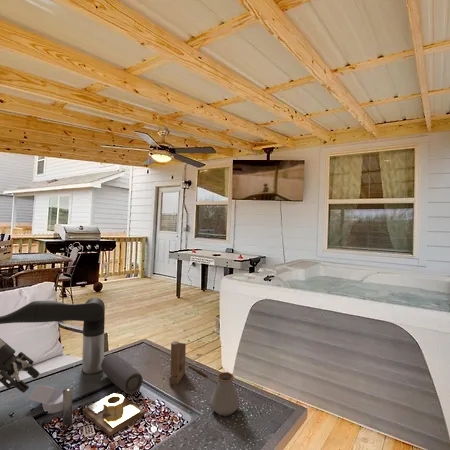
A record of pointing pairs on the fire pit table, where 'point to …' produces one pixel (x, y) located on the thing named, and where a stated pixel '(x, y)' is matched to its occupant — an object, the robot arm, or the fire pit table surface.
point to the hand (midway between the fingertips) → (32, 382)
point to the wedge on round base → (48, 398)
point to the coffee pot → (222, 393)
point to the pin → (67, 406)
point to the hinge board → (100, 417)
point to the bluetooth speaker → (122, 373)
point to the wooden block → (177, 362)
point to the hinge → (114, 410)
